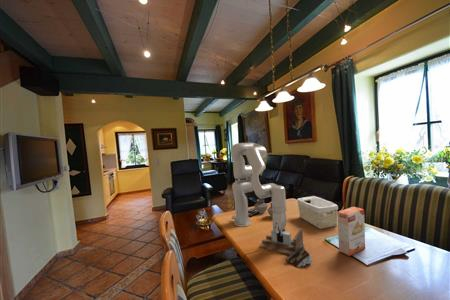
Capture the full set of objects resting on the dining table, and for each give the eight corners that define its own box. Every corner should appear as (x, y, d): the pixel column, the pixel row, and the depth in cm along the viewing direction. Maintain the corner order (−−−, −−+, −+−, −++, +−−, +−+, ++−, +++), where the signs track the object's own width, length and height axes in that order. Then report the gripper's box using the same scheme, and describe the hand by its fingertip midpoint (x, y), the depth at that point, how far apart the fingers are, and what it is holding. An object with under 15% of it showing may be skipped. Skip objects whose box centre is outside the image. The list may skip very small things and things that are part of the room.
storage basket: (340, 226, 125) (339, 204, 125) (319, 230, 122) (317, 207, 121) (315, 214, 149) (314, 195, 148) (297, 217, 145) (296, 198, 145)
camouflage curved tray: (295, 272, 86) (312, 251, 87) (284, 260, 92) (300, 240, 93) (304, 278, 91) (319, 258, 92) (293, 266, 97) (307, 247, 98)
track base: (259, 247, 107) (258, 231, 107) (269, 236, 119) (268, 222, 118) (296, 257, 96) (295, 239, 95) (303, 244, 107) (302, 228, 107)
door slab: (271, 243, 109) (271, 231, 108) (273, 240, 111) (273, 229, 111) (289, 247, 103) (288, 235, 103) (291, 245, 105) (290, 232, 105)
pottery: (274, 221, 141) (273, 205, 140) (251, 212, 162) (250, 198, 161) (284, 217, 147) (283, 202, 146) (261, 209, 168) (260, 195, 167)
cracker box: (350, 257, 93) (348, 214, 92) (338, 251, 98) (336, 211, 98) (366, 248, 99) (364, 208, 99) (354, 243, 105) (352, 205, 104)
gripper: (277, 203, 115) (279, 233, 116) (267, 212, 102) (269, 245, 102) (290, 204, 111) (292, 235, 111) (280, 214, 97) (283, 249, 98)
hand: (281, 240), depth 107 cm, fingers open, 3 cm apart
